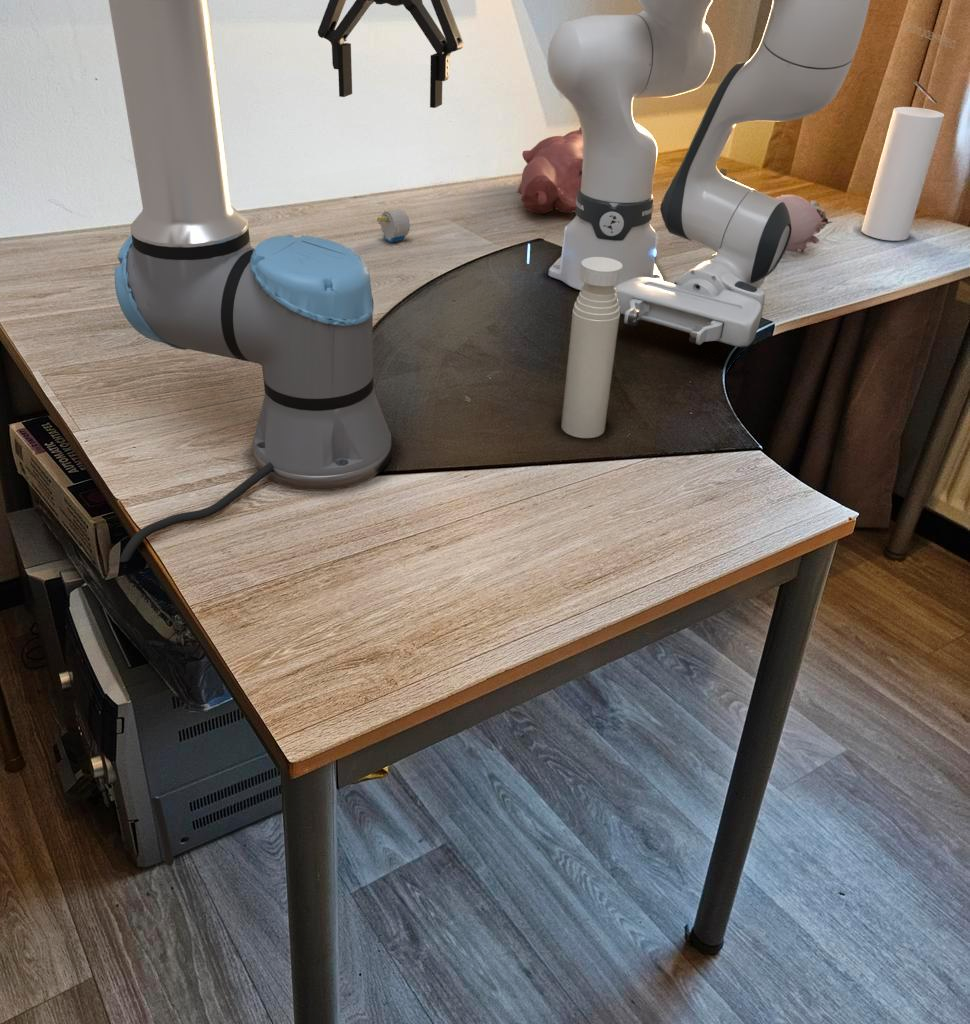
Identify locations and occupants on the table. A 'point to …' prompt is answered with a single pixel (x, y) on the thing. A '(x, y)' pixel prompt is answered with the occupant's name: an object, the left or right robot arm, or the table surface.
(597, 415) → the bottle
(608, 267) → the cap
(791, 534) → the table surface
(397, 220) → the electric motor
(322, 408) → the left robot arm
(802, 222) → the toy
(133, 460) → the table surface
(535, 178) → the pink faceted figure
